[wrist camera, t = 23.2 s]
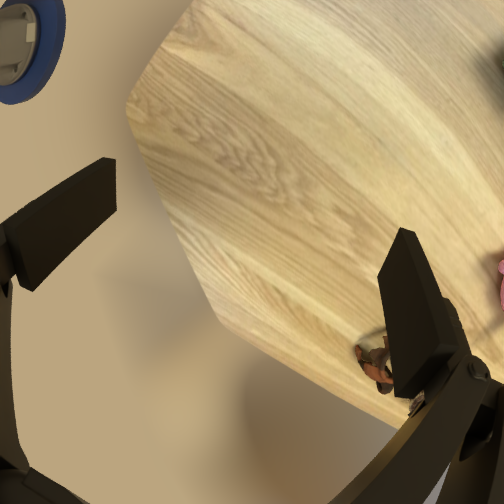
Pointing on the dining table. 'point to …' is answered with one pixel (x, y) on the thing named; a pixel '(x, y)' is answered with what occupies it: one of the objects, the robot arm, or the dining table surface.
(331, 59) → the dining table surface
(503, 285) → the teapot
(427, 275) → the robot arm
